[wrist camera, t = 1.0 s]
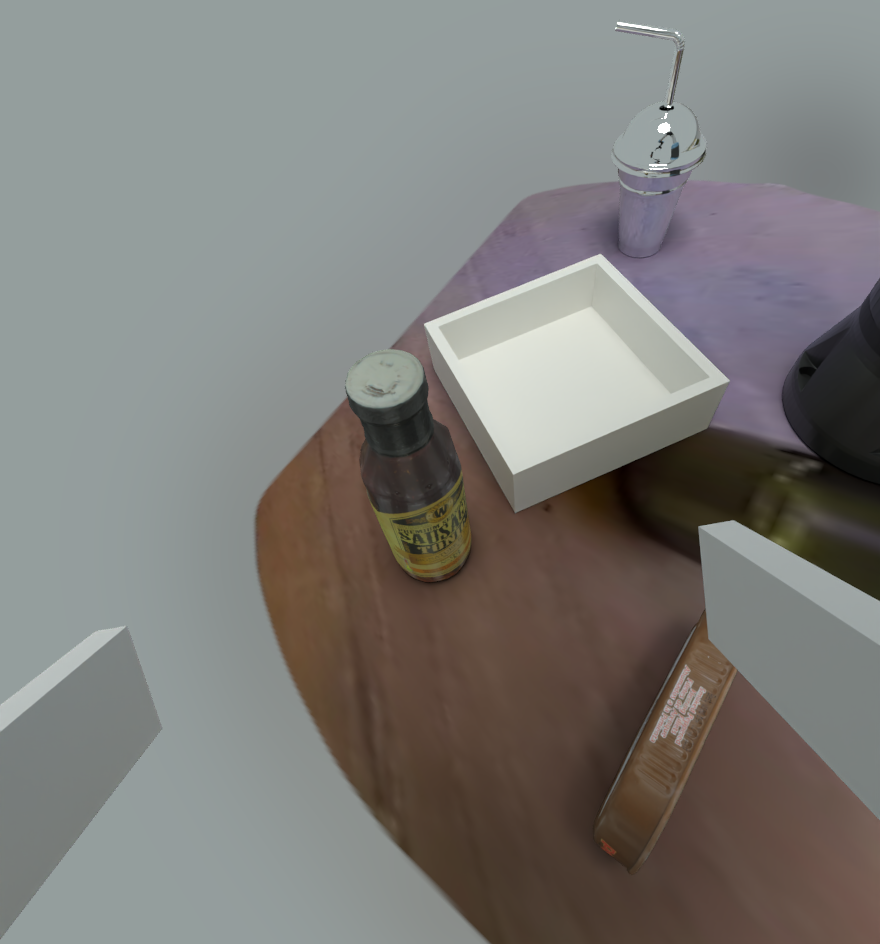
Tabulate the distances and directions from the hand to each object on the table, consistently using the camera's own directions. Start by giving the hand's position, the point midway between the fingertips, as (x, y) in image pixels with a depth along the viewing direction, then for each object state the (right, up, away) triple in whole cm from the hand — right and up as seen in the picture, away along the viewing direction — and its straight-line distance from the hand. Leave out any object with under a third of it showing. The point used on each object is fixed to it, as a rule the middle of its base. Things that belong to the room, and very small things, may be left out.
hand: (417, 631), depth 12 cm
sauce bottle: (0, -3, +30) cm, 30 cm away
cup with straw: (+22, +29, +46) cm, 59 cm away
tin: (+14, -13, +21) cm, 29 cm away
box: (+12, +11, +36) cm, 40 cm away
